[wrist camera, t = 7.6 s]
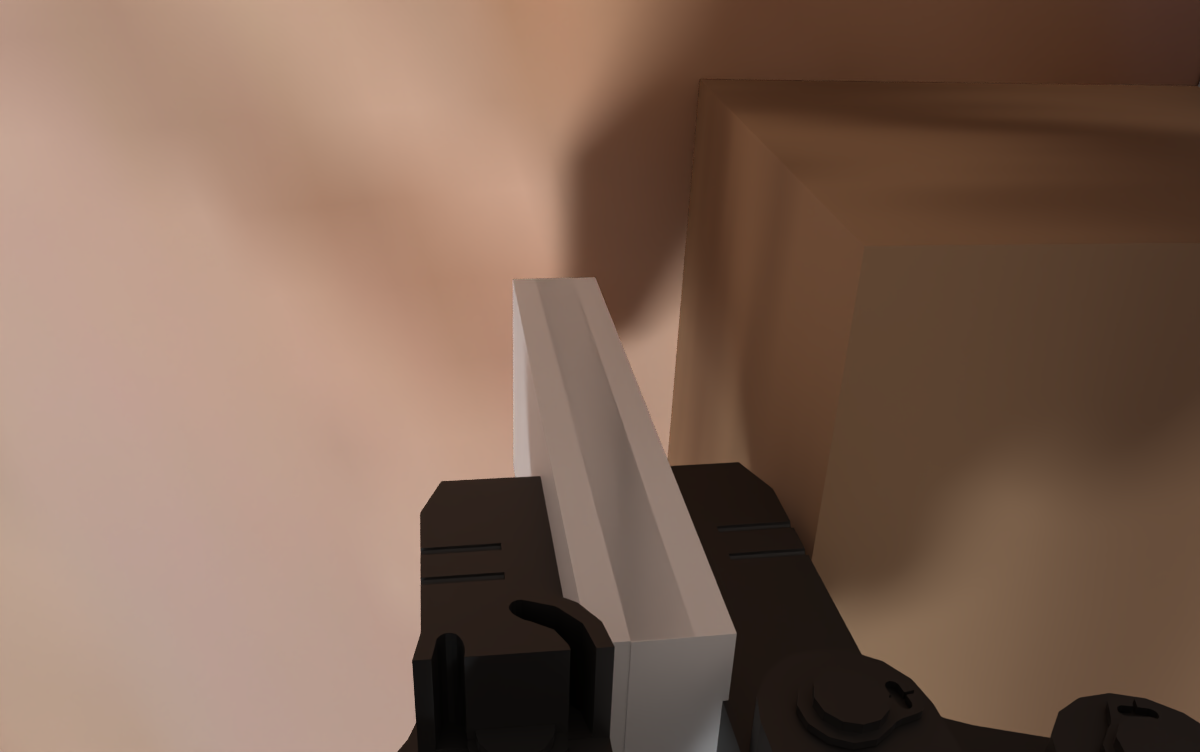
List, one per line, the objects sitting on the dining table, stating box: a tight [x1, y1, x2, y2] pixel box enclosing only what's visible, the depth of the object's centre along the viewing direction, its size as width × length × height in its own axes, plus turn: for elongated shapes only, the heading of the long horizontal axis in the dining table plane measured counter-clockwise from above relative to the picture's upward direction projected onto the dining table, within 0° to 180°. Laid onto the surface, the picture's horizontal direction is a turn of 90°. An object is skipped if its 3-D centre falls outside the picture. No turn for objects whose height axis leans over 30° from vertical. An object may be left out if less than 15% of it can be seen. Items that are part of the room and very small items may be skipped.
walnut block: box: [668, 79, 1200, 738], centre depth 13 cm, size 7×7×6 cm
